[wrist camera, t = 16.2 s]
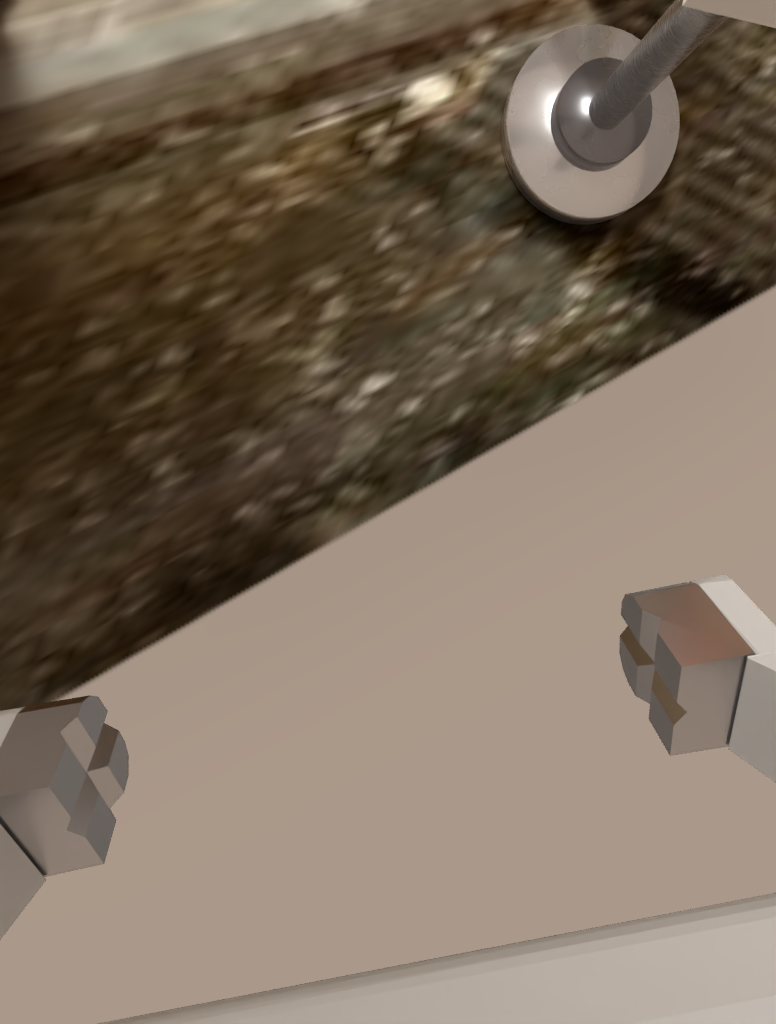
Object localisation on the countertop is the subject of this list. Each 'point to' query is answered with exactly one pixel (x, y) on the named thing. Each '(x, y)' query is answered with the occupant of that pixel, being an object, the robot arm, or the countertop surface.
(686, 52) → the rod stand
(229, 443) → the countertop surface
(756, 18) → the sleeve
